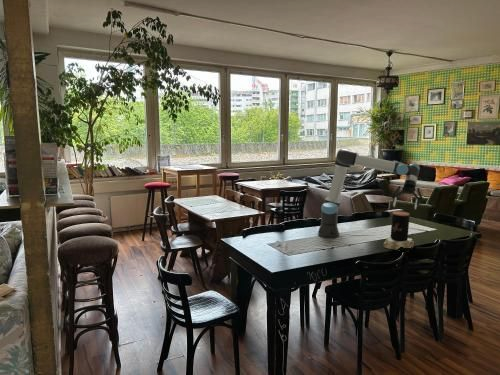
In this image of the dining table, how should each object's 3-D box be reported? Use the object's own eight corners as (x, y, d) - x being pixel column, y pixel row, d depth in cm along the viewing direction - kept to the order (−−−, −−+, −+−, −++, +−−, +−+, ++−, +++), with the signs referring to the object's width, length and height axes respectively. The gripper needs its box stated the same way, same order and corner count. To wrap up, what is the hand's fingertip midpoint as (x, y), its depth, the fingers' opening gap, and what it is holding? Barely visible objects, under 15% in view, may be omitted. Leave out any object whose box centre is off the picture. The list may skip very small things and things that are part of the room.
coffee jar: (387, 237, 248) (388, 211, 246) (399, 236, 252) (401, 210, 250) (398, 242, 239) (400, 215, 236) (411, 240, 242) (413, 214, 240)
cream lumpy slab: (383, 247, 244) (383, 240, 243) (389, 241, 257) (389, 234, 256) (409, 251, 235) (409, 244, 234) (413, 245, 248) (414, 238, 248)
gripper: (430, 187, 254) (424, 212, 244) (392, 184, 268) (386, 207, 258) (429, 180, 249) (424, 206, 239) (391, 177, 263) (384, 201, 253)
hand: (404, 207), depth 249 cm, fingers open, 13 cm apart
